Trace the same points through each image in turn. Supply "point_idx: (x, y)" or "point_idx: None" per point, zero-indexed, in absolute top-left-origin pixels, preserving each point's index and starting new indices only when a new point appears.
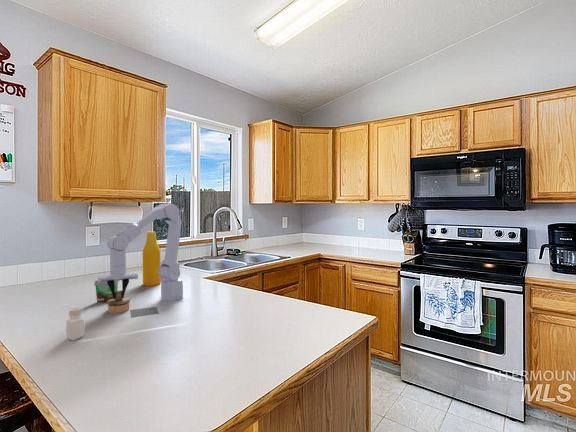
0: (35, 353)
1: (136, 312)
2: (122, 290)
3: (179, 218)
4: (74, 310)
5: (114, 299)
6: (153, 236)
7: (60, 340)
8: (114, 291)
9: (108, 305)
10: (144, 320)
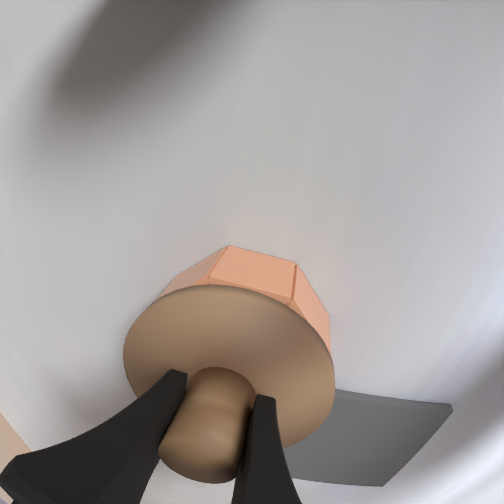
0: (41, 449)
1: (315, 441)
2: (234, 494)
3: None
4: None
5: (190, 341)
6: None
7: (57, 439)
8: (149, 477)
9: None
10: (302, 494)
